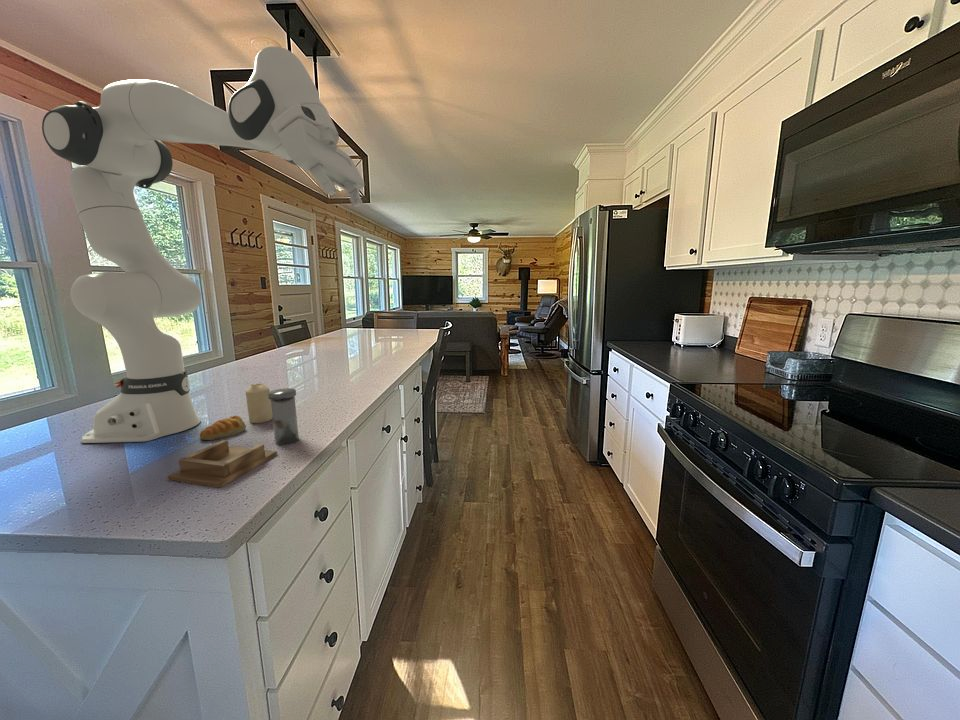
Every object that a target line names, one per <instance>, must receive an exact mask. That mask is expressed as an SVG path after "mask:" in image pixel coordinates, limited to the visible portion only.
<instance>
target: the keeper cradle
mask: <svg viewBox="0 0 960 720" xmlns="http://www.w3.org/2000/svg"><path fill="white" fill-rule="evenodd" d="M277 455H278V451H277V450H270V449H265V444H263V443H258V444H255V445H254V446H253V447H243V446H235V445H230V446H229V440H227V439H222V440H220V441H217V442H215V443H213V444H211V445H209V446H206V447H204V448H202V449H200V450H198V451H195V452H193V453H190V454H189V455H187V456H184V457H182V458H180V459H178V467H179V470H178V471H175V472H173V473H172V474H169V475H167V480H168V479H169V480H168V481H172V480H175V481H174V482H178V481H182V482H181V483H185V482H187V483H186V484H193V485H199V484H200V485H201V486H206V487H207V486H208V487H214V488H220V489H221V488H222V487H224V486H226V485H227V484H229V483H230V482H233V481H234V480H236V479H238V478H239V477H241V476H243V475H245V474H247V473H248V472H250V471H252V470H253V469H255V468H257V467H258V466H260V465H262V464H263V463H265V462H267V461H269V460H270V459H272V458H273V457H275V456H277ZM200 485H199V486H200Z"/></svg>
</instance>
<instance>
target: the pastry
mask: <svg viewBox="0 0 960 720" xmlns="http://www.w3.org/2000/svg"><path fill="white" fill-rule="evenodd" d="M246 428H247V426H246V424H245V421H244V420H243V418H242V417H241V416H239V415H231V416H230V417H226V418H223V419H219V420H218V419H217V420H216V421H215V422H214V423H213V424H211V425H209V426H207V427H205V428H204V429H202V430H200V432H199V440H204V441H205V440H206V441H214V439H215V440H219V439H223V437H224V438H228V437H231V436H234V435H236V434H240V433H242V432H245V430H246ZM230 435H231V436H230ZM218 438H219V439H218Z"/></svg>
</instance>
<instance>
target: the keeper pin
mask: <svg viewBox="0 0 960 720" xmlns="http://www.w3.org/2000/svg"><path fill="white" fill-rule="evenodd" d="M269 391H270V392H268V398H269V399H270V401H271V409H272V425H273V434H274V442H275V443H274V444H275V445H278V446H285V445H287V444H288V445H292V444H295V443H297V442H298V441H299V440H300V435H299V427H298V417H297V408H296V407H297V406H296V405H297V404H296V397H295V396H297V391H296V389H295V388H289V387H288V388H278V389H274V390H269ZM296 441H297V442H296ZM294 442H295V443H294ZM291 443H292V444H291Z"/></svg>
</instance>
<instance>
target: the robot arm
mask: <svg viewBox="0 0 960 720" xmlns="http://www.w3.org/2000/svg"><path fill="white" fill-rule="evenodd" d="M100 93H101V94H100V102H99V103H100V104H99V105H98V106H97V107H96V106H95V107H92V106H91V104H89V103H87V102H85V101H82V100H81V101H79V100H78V101H76V102H74V103H73V104H72V105H71V104H70V105H67V104H66V105H59V106H57V107H55V108H52V109H51V110H48V111H47V112H46V113H45V115H44V116H43V118H42V124H41V129H42V130H41V131H42V135H43V138H44V140H45V142H46V144H47V146H48V147H49V149H50V150H51V151H52V152H53V153H54V154H56V155H57V156H58V157H60V158H62V159H63V160H66V161H68V162H71V163H73V164H75V165H78V166H76V167H74V168H73V169H72V170H70V172H69V174H68V182H69V188H70V194H71V198H72V202H73V204H74V208H75V210H76V213H77V216H78V218H79V221H80V223H81V226H82V228H83V231H84V233H85V237H86V238H87V241H88V244H89V245H90V247H91V249H92V250H93V251H94V252H95V253H96V255H97V254H98V256H100V257H101V258H104V259H106V260H108V261H111V263H114V264H115V265H116V266H118V267H120V268H121V270H123V271H121V272H120V271H104V272H97V273H95V272H94V273H90V274H84V275H83V274H82V275H80V276H79V277H77V278H76V279H75V280H74V282H73V283H72V285H71V289H70V294H69V296H70V300H71V302H72V304H73V306H74V308H75V309H76V310H77V311H78V312H79V313H80V314H82V316H84V318H85V317H86V318H87V319H89V320H92V321H93V322H95V323H97V324H99V325H100V326H102V327H103V328H104V329H105V330H107V332H109V334H111V336H112V337H113V339H114V340H115V341H116V343H117V345H118V347H119V349H120V352H121V356H122V359H123V363H124V368H125V374H126V377H124V378H122V379H120V380H119V381H118V382H115V383H114V385H116V384H117V385H116V386H114V388H119V387H120V393H119V394H118V395H116V396H115V397H114V398H112V399H111V400H110V401H108V402H107V403H106V404H104V405H103V406H102V407H101V408H99V409H98V410H97V411H96V412H95V413H94V416H93V422H92V423H93V425H92V429H91V430H89V431H87V432H86V433H85V434H84V435H82V436H81V443H82V444H91V443H92V444H93V443H94V444H95V443H96V444H98V443H99V444H101V443H102V444H103V443H133V442H134V443H135V442H139V443H140V442H141V443H142V442H150V441H153V440H156V439H158V438H162V437H166V436H169V435H174V434H177V433H180V432H183V431H187V430H189V429H192V428H194V427H196V426H197V425H199V424H200V423H201V419H200V418H199V416H198V414H197V412H196V409H195V406H194V404H193V401H192V398H191V395H190V380H189V377H188V371H187V370H185V365H184V359H183V352H182V348H181V347H182V346H181V343H180V342H179V340H177V338H175V337H174V336H172V335H169V334H167V333H164V332H162V331H161V330H160V329H159V327H158V326H157V324H156V321H155V319H157V318H171V317H173V318H174V317H178V316H182V315H186V314H189V313H192V312H194V311H196V310H197V309H198V308H199V307H200V304H201V301H202V293H201V292H202V291H201V289H200V288H199V286H198V284H197V283H196V282H195V281H194V280H193V279H192V278H190V277H188V276H186V275H185V274H183V273H182V272H181V271H179V270H178V269H177V268H176V267H174V266H173V265H172V264H171V263H170V262H169V261H168V260H167V259H166V258H165V256H163V254H162V252H161V251H160V250H159V249H158V247H157V246H156V244H155V242H154V240H153V238H152V237H151V234H150V231H149V229H148V227H147V224H146V222H145V220H144V217H143V215H142V212H141V209H140V208H139V205H138V203H137V201H136V198H135V193H134V191H135V190H134V189H135V187H136V186H137V187H139V188H141V189H149V188H151V187H152V185H153V184H157V183H161V182H162V181H164V180H165V179H166V178H168V176H170V174H171V172H172V170H173V166H174V165H173V161H174V160H173V158H172V157H173V156H172V154H171V151H170V149H169V148H168V146H167V145H166V144H164V143H163V142H168V143H181V144H195V145H196V144H199V145H212V146H224V147H226V146H227V147H234V148H238V149H239V148H240V149H246V150H252V151H257V152H264V153H271V154H273V155H274V156H277V157H279V158H280V159H283V160H284V161H286V162H287V163H289V164H291V165H294V166H297V167H299V168H301V169H303V170H305V171H306V172H308V173H310V174H311V175H312V177H314V179H315V180H316V182H318V184H319V185H320V186H321V187H322V189H323V192H324V193H325V194H326V195H329V196H333V195H334V194H336V193H338V189H337V187H339V188H341V189H343V190H345V191H346V192H347V193H348V194H349V197H350V198H349V201H350V203H351V205H352V206H353V207H355V208H359V207H361V206H362V205H363V200H362V198H361V196H360V191H361V190H362V189H363V188H365V181H364V179H363V177H362V175H361V174H360V172H359V170H358V168H357V166H356V163H354V161H353V159H352V158H351V157H350V155H349V154H348V153H346V151H344V150H343V149H341V148H339V147H338V145H337V144H338V142H339V139H340V135H339V132H338V130H337V127H336V126H335V124H334V122H333V120H332V117H331V115H330V113H329V111H328V110H327V107H325V105H324V104H323V103H322V102H321V99H320V94H319V92H318V88H317V87H316V85H315V83H314V81H313V79H312V77H311V75H310V74H309V72H308V70H307V68H306V67H305V66H304V64H303V63H302V61H301V59H300V58H299V57H298V56H297V55H296V54H294V52H292V51H291V50H289V49H287V48H284V47H281V46H274V45H273V46H267V47H264V48H262V49H261V50H260V51H259V52H257V55H256V56H255V60H254V69H253V72H252V74H251V76H250V78H249V80H248V81H247V83H246V84H245V85H244V86H242V87H241V88H238V90H236V91H235V92H234V93H233V94H232V96H230V99H229V100H228V101H229V102H228V108H227V109H228V110H227V111H225V110H223V109H222V108H219V107H217V106H215V104H214V105H213V104H212V103H210V102H209V101H206V100H204V99H202V98H200V97H199V96H197V95H195V94H193V93H191V92H190V91H188V90H186V89H184V88H182V87H180V86H177V85H174V84H171V83H167V82H165V81H159V80H153V79H126V80H120V81H115V82H112V83H109V84H108V85H106V86H104V88H103V89H102V91H101V92H100Z"/></svg>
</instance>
